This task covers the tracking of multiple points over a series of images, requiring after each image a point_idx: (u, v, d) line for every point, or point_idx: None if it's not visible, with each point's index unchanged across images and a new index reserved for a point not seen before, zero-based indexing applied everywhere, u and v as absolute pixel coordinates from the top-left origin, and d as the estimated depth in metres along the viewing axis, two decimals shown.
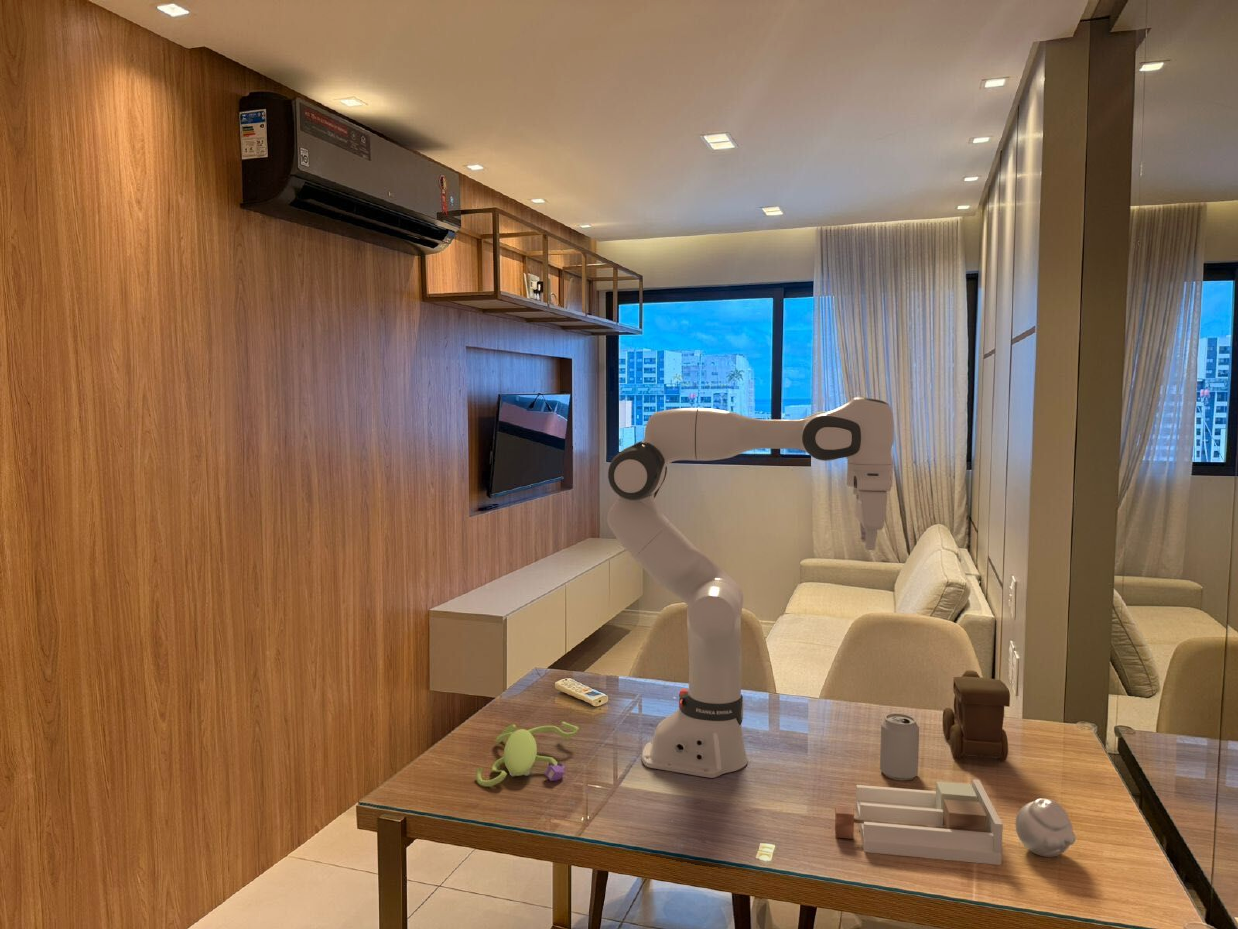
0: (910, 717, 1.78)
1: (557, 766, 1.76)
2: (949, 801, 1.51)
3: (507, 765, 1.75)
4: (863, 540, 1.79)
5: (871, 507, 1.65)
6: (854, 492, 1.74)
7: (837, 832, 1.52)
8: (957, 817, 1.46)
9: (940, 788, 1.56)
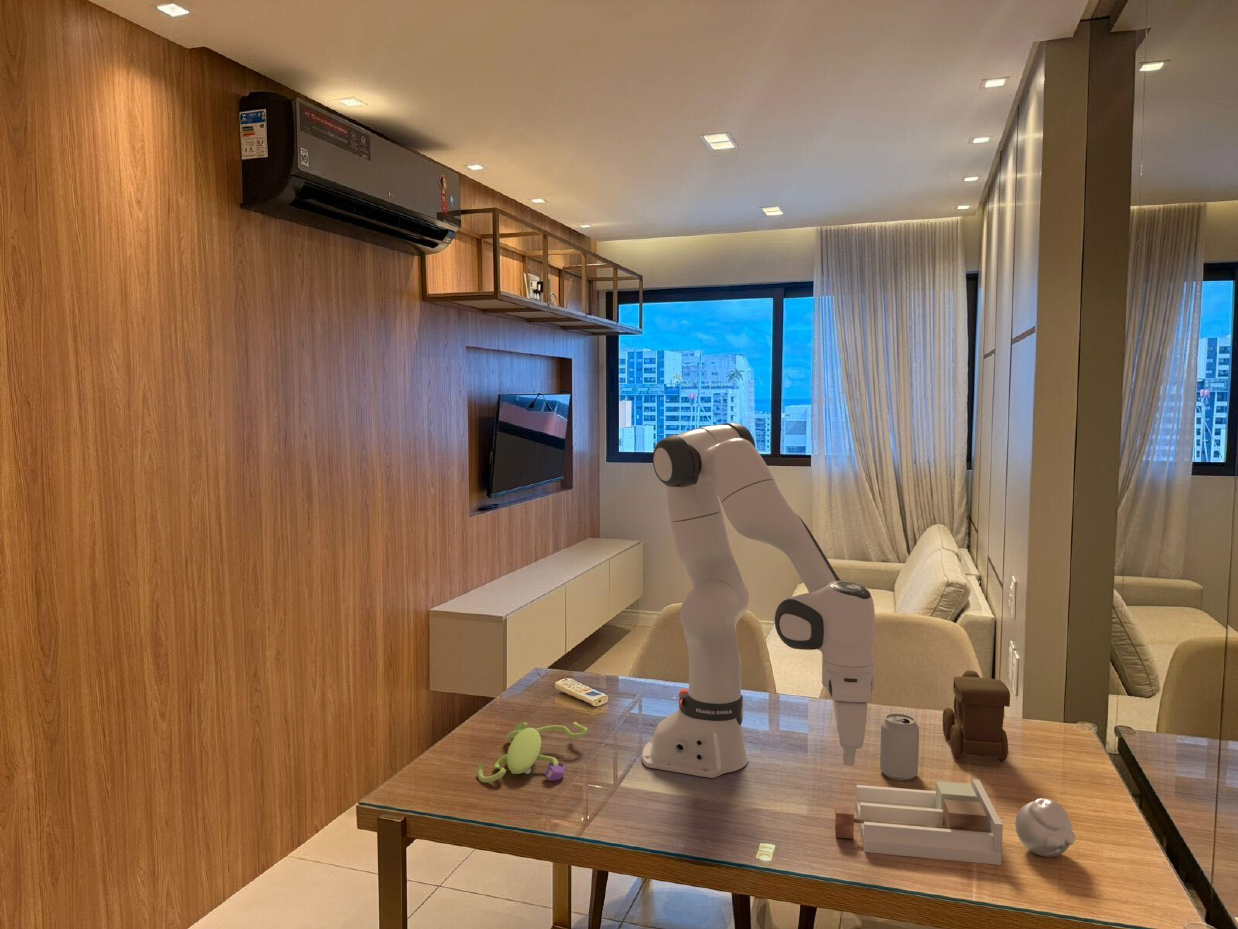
0: (910, 717, 1.78)
1: (557, 766, 1.75)
2: (949, 801, 1.51)
3: (508, 763, 1.76)
4: None
5: (849, 723, 1.41)
6: (830, 693, 1.50)
7: (837, 832, 1.52)
8: (957, 817, 1.46)
9: (940, 788, 1.56)
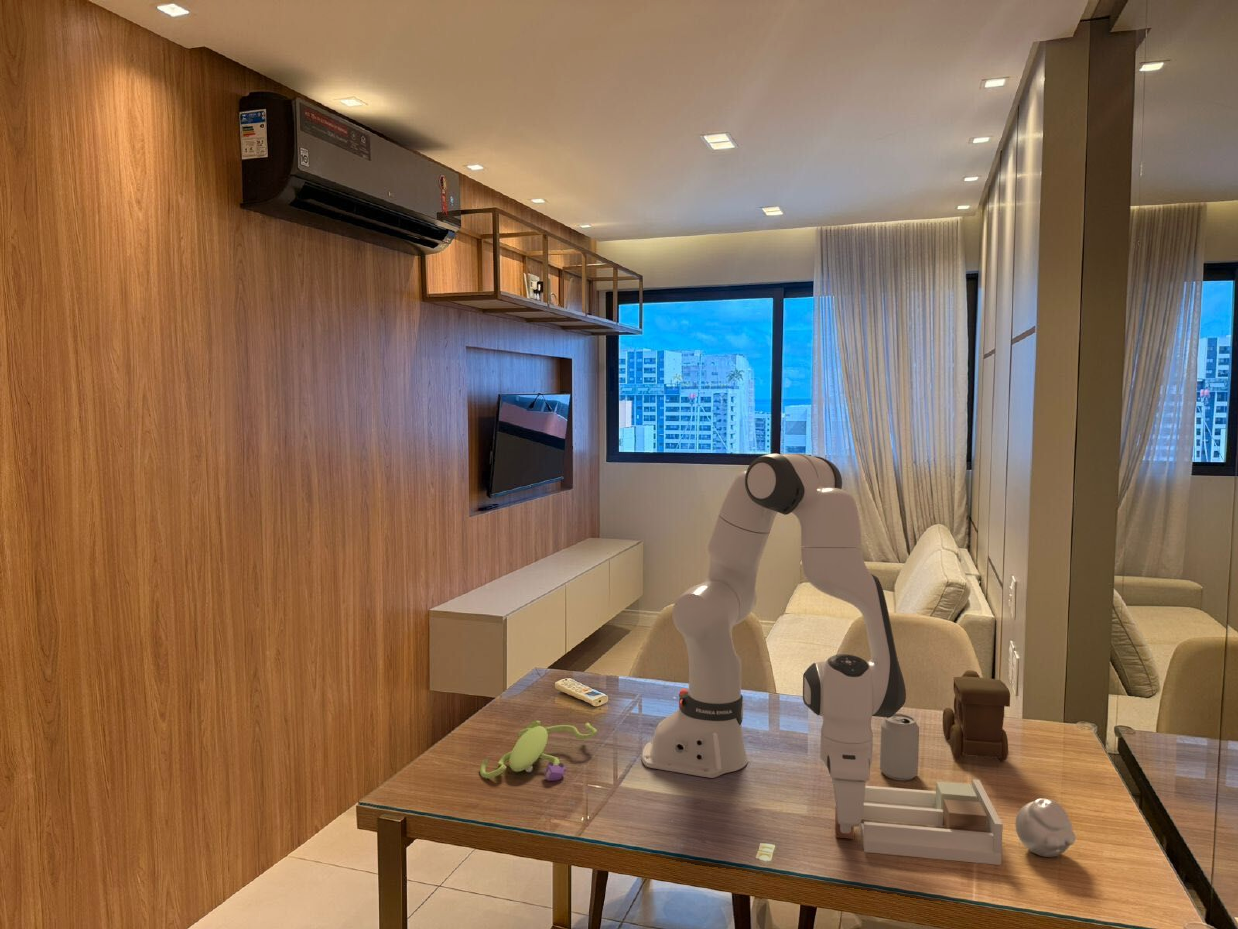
0: (910, 717, 1.78)
1: (557, 766, 1.75)
2: (949, 801, 1.51)
3: (510, 760, 1.78)
4: None
5: (847, 802, 1.42)
6: None
7: (837, 832, 1.52)
8: (957, 817, 1.46)
9: (940, 788, 1.56)
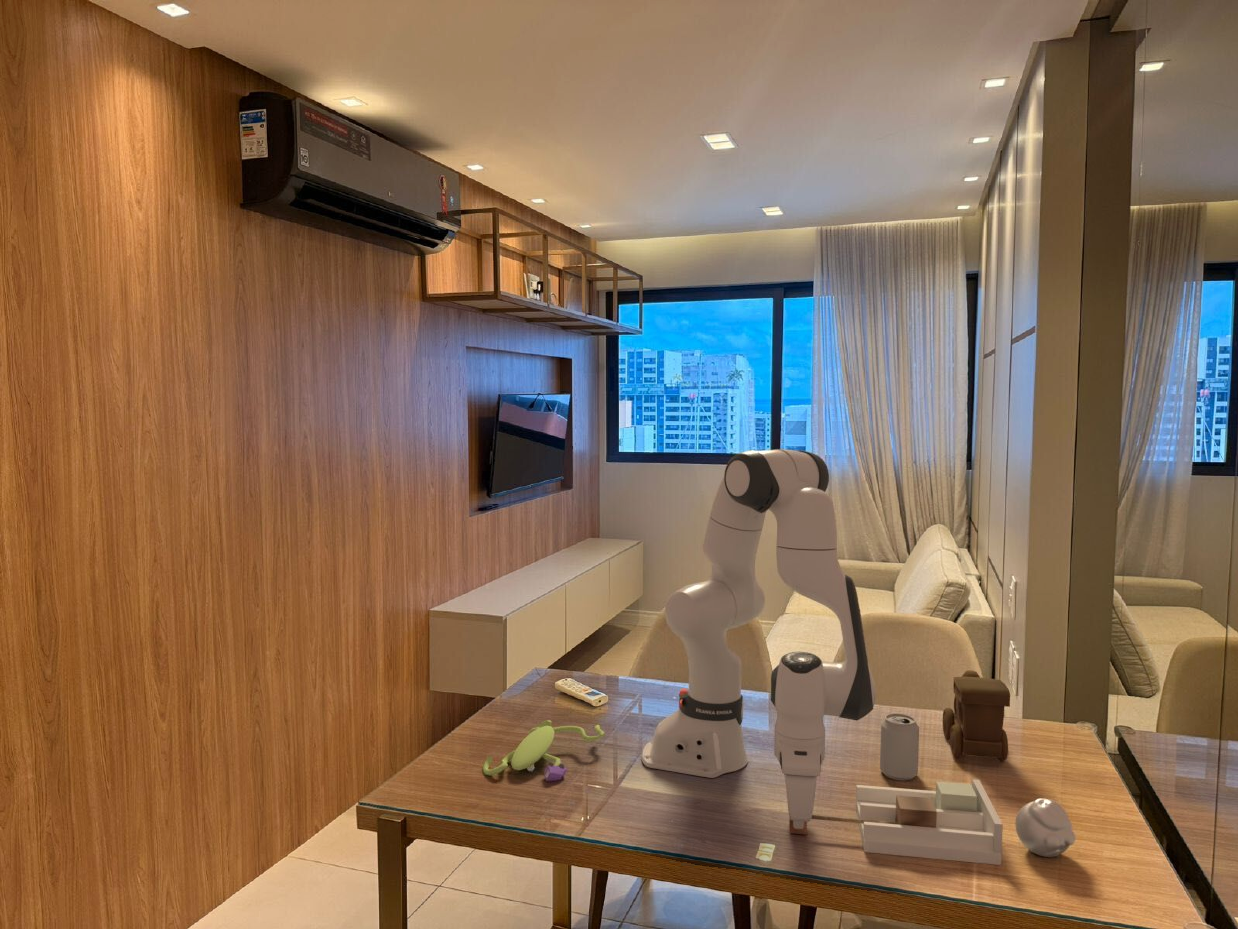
0: (910, 717, 1.78)
1: (556, 767, 1.75)
2: (901, 797, 1.52)
3: (512, 758, 1.79)
4: None
5: (797, 797, 1.44)
6: None
7: (791, 828, 1.53)
8: (908, 813, 1.48)
9: (940, 788, 1.56)
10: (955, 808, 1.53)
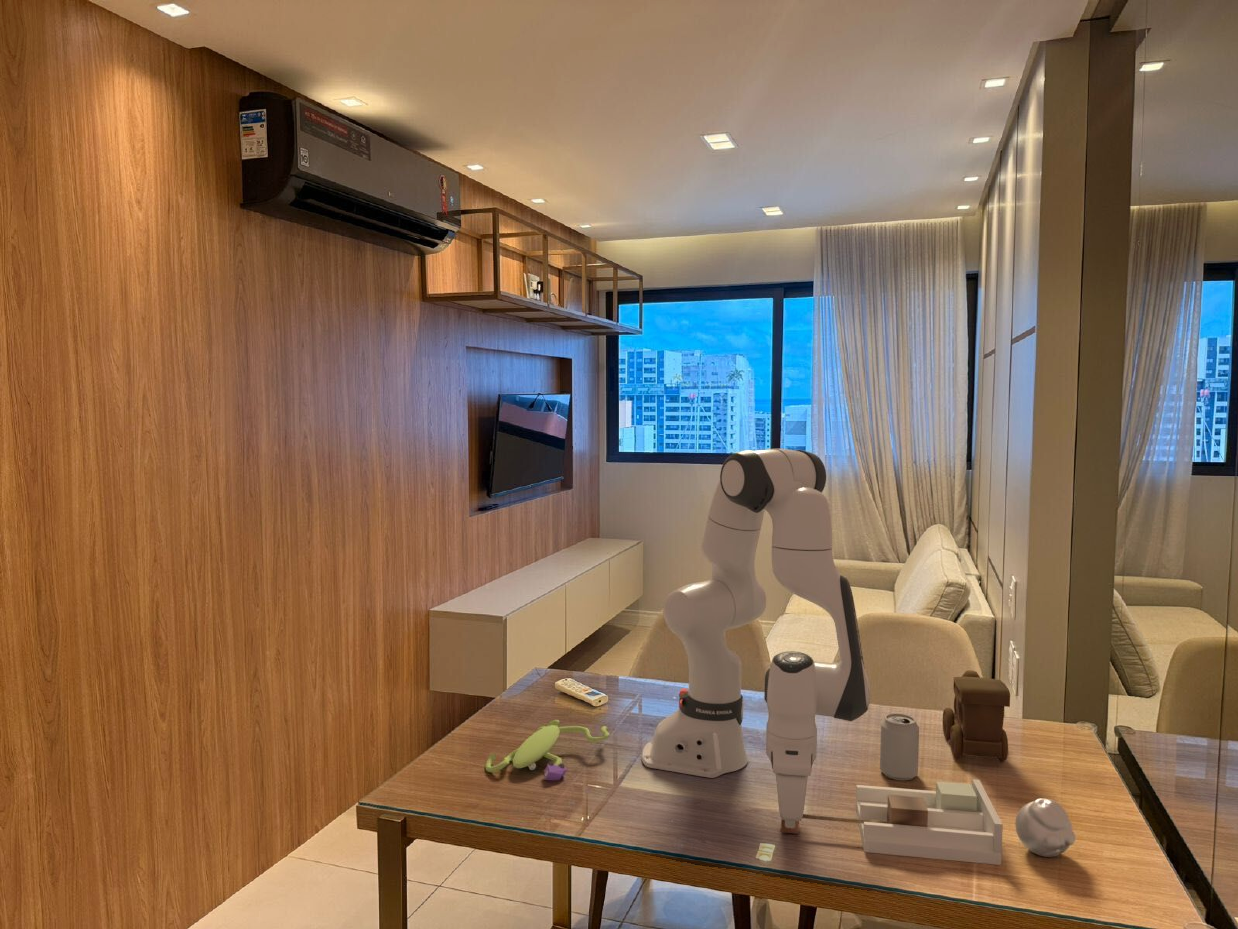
0: (910, 717, 1.78)
1: (556, 767, 1.75)
2: (893, 796, 1.52)
3: (514, 756, 1.80)
4: None
5: (788, 797, 1.44)
6: None
7: (782, 827, 1.53)
8: (899, 812, 1.48)
9: (940, 788, 1.56)
10: (955, 808, 1.53)
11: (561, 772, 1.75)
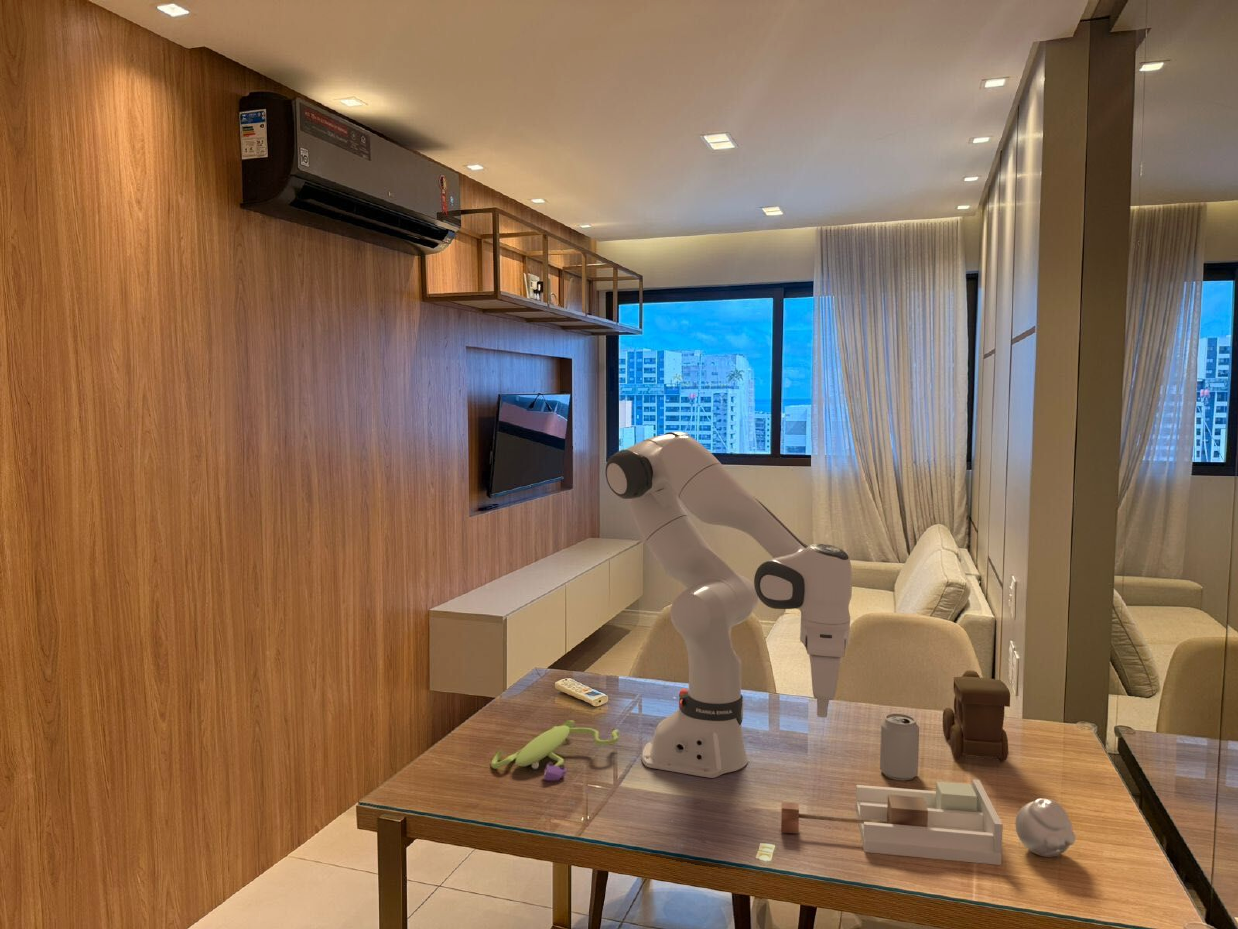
0: (910, 717, 1.78)
1: (556, 767, 1.75)
2: (893, 796, 1.52)
3: (518, 754, 1.81)
4: None
5: (822, 676, 1.49)
6: None
7: (782, 827, 1.53)
8: (899, 812, 1.48)
9: (940, 788, 1.56)
10: (955, 808, 1.53)
11: (560, 773, 1.74)
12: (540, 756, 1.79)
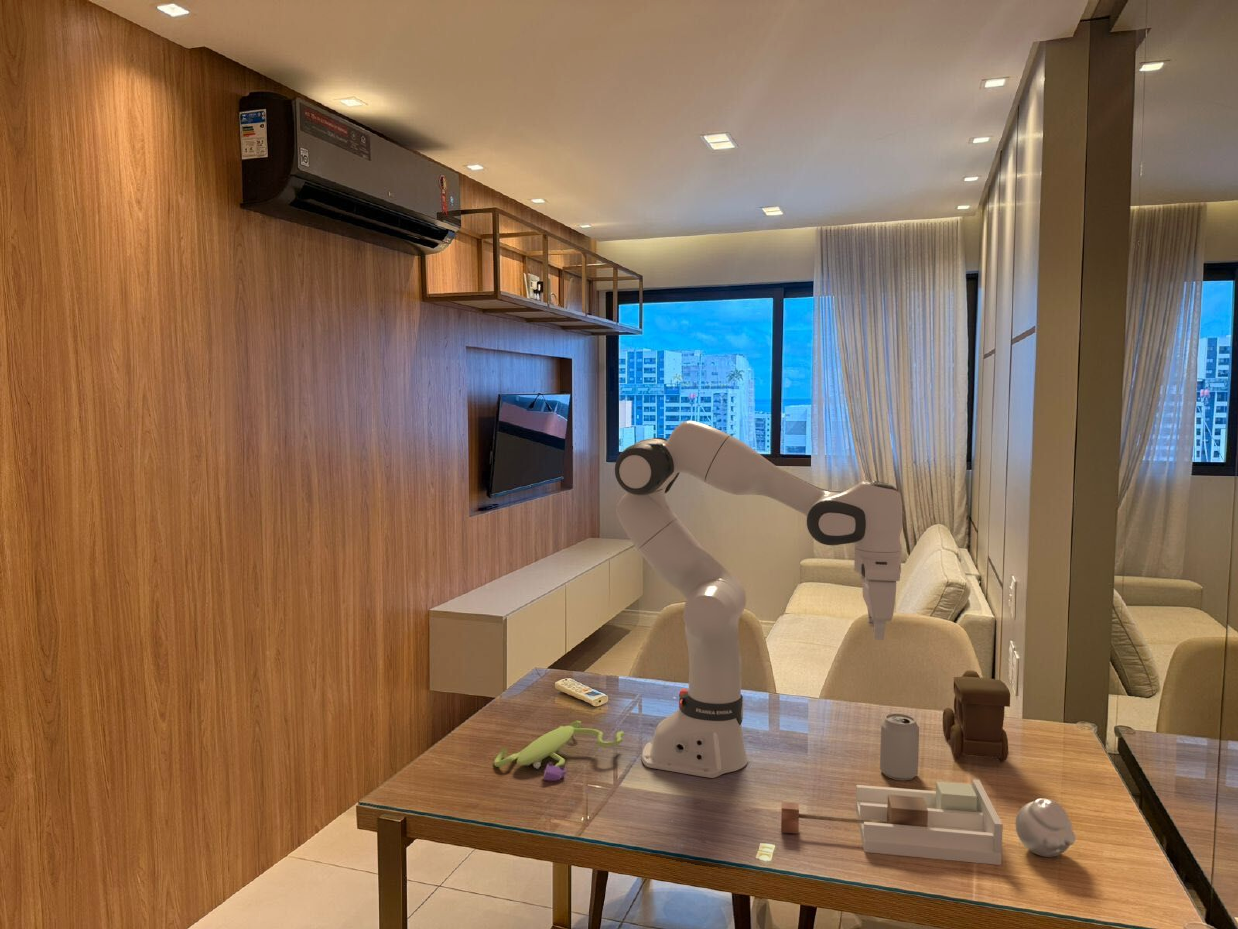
0: (910, 717, 1.78)
1: (556, 767, 1.75)
2: (893, 796, 1.52)
3: (521, 753, 1.82)
4: (871, 625, 1.75)
5: (880, 598, 1.60)
6: (862, 578, 1.69)
7: (782, 827, 1.53)
8: (899, 812, 1.48)
9: (940, 788, 1.56)
10: (955, 808, 1.53)
11: (559, 773, 1.74)
12: (541, 756, 1.79)
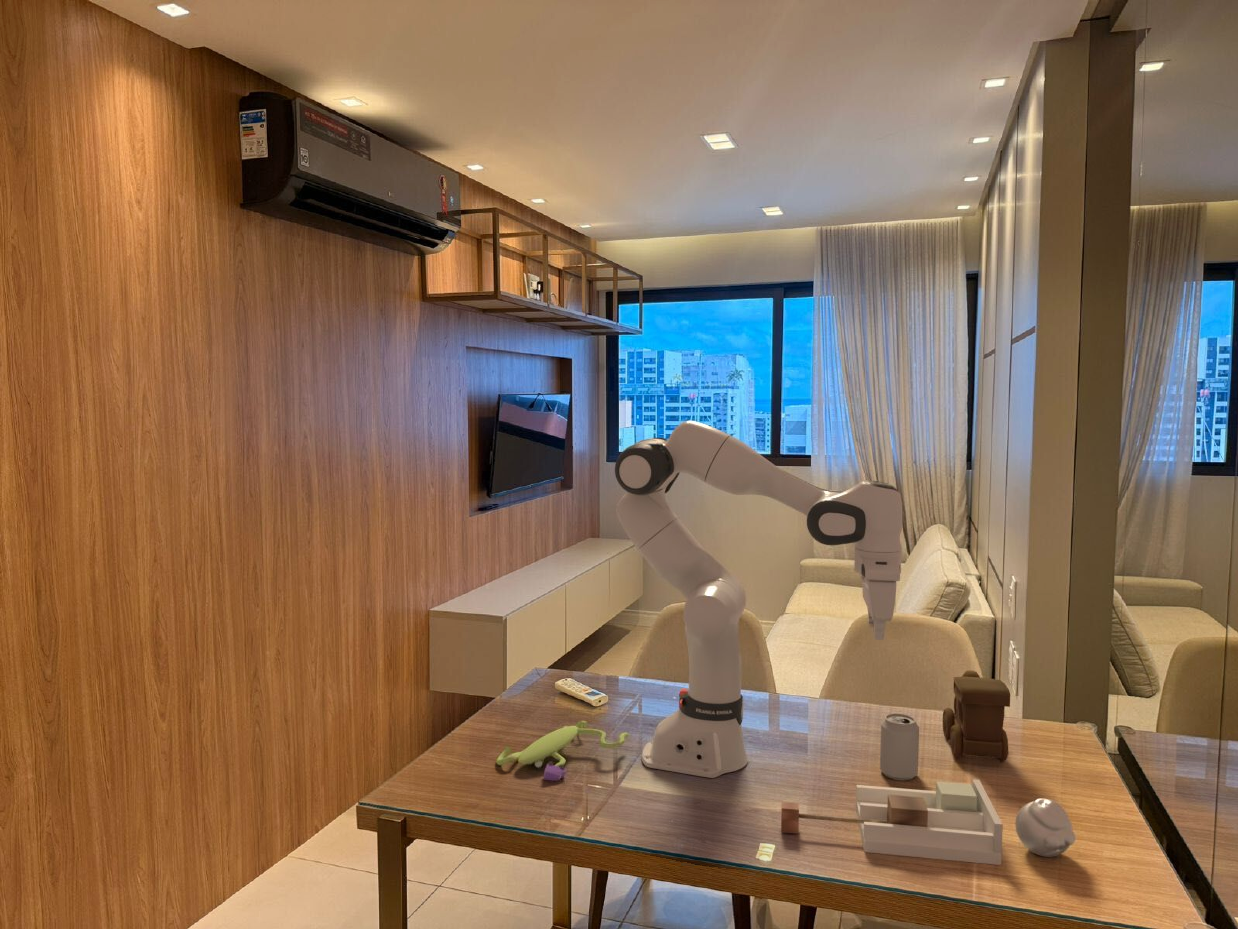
0: (910, 717, 1.78)
1: (555, 767, 1.75)
2: (893, 796, 1.52)
3: (523, 752, 1.82)
4: (871, 625, 1.75)
5: (880, 599, 1.60)
6: (862, 578, 1.69)
7: (782, 827, 1.53)
8: (899, 812, 1.48)
9: (940, 788, 1.56)
10: (955, 808, 1.53)
11: (559, 773, 1.74)
12: (542, 755, 1.79)
